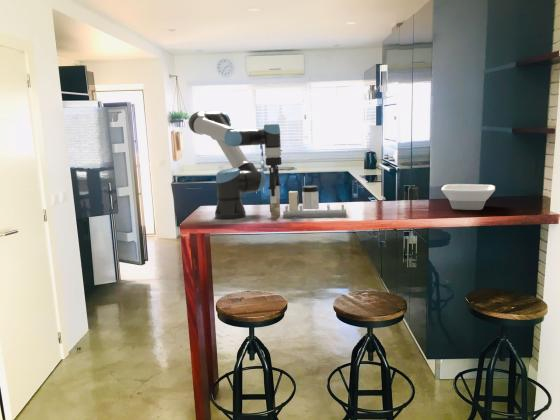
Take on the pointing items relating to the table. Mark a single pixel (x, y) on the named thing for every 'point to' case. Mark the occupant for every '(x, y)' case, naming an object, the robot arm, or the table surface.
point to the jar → (310, 197)
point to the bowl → (468, 195)
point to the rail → (309, 213)
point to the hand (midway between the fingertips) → (275, 201)
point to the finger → (275, 208)
